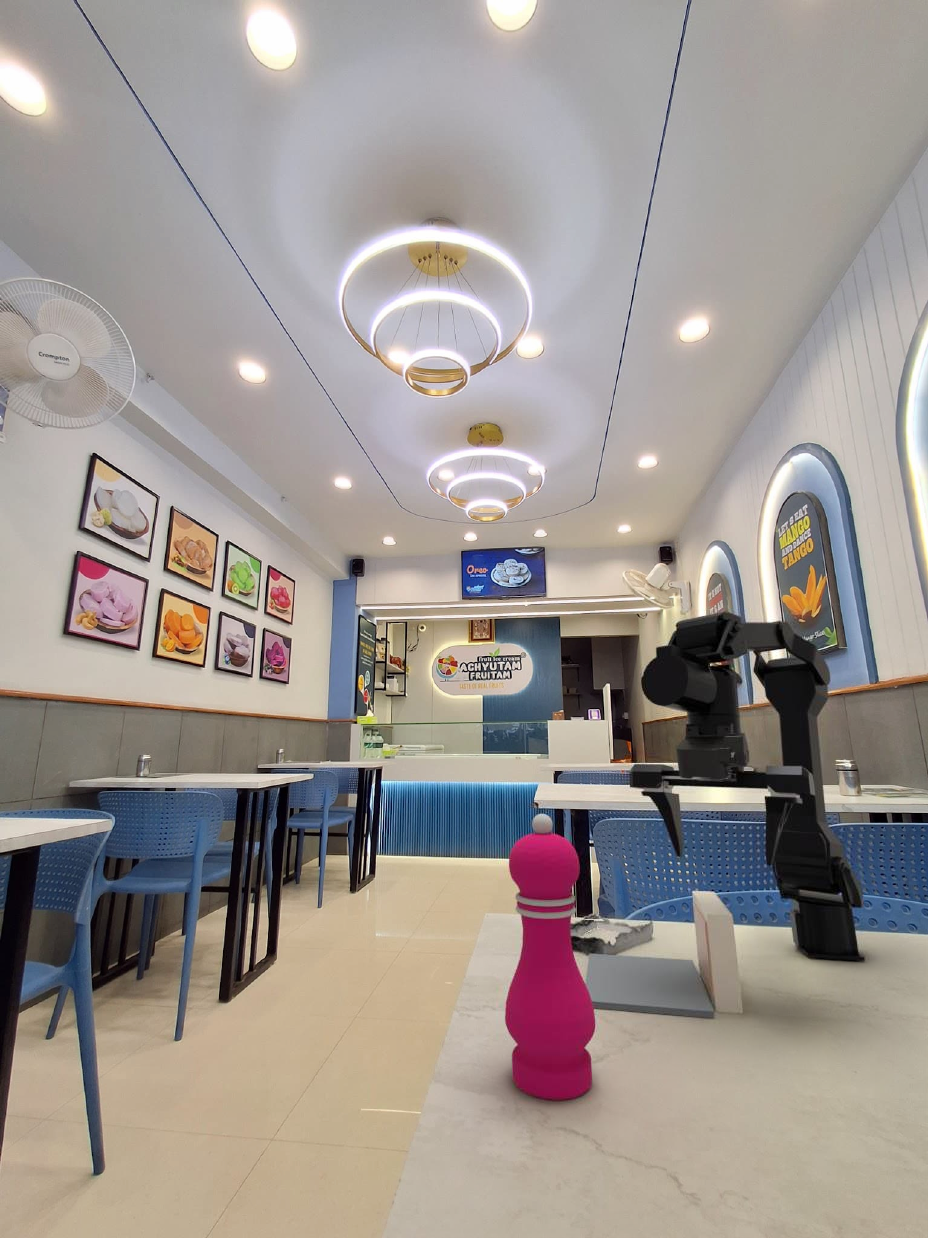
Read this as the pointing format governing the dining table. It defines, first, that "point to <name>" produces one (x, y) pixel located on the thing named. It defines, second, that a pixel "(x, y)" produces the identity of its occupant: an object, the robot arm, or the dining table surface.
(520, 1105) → the dining table surface
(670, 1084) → the dining table surface
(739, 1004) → the ceramic tile
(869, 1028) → the dining table surface
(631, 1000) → the slate mat
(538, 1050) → the pepper mill
